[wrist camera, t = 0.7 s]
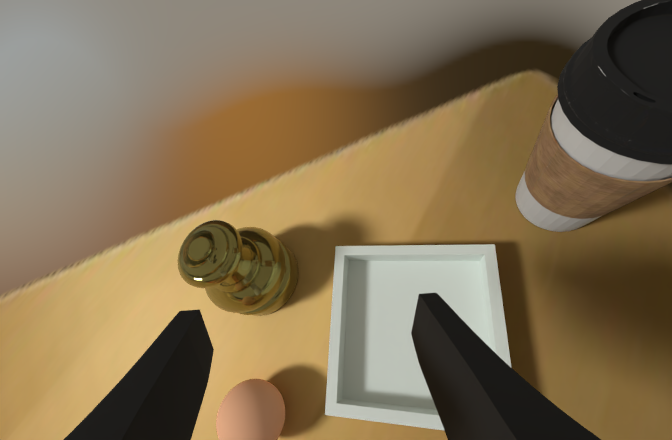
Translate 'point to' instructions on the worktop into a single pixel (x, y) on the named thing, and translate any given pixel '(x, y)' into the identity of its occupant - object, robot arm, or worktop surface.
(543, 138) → the coffee cup
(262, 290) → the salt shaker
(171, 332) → the robot arm
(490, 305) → the tray
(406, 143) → the worktop surface
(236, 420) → the ball
